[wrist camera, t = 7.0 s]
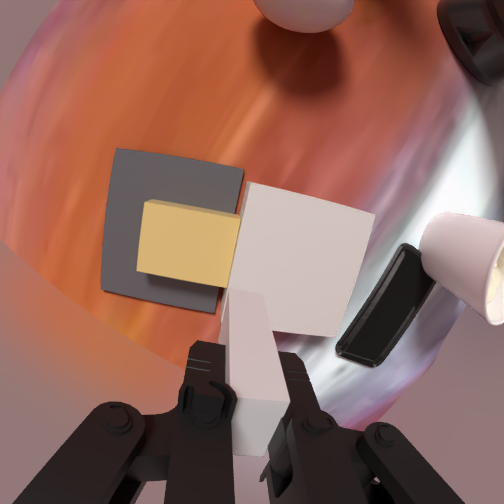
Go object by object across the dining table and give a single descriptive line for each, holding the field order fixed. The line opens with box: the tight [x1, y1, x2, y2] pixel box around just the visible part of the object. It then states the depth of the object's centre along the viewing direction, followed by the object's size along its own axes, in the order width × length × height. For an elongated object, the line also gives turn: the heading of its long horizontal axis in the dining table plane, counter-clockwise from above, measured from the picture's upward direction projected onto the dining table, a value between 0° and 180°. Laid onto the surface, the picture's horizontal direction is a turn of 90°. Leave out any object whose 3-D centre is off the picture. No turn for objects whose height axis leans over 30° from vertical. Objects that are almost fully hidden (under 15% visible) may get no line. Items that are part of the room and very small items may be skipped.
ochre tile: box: [137, 199, 241, 288], centre depth 24 cm, size 8×6×2 cm
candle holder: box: [419, 212, 504, 326], centre depth 23 cm, size 10×10×12 cm
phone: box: [335, 243, 436, 367], centre depth 30 cm, size 8×1×15 cm
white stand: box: [221, 181, 375, 337], centre depth 25 cm, size 11×12×4 cm
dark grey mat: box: [101, 148, 244, 313], centre depth 25 cm, size 12×14×1 cm
